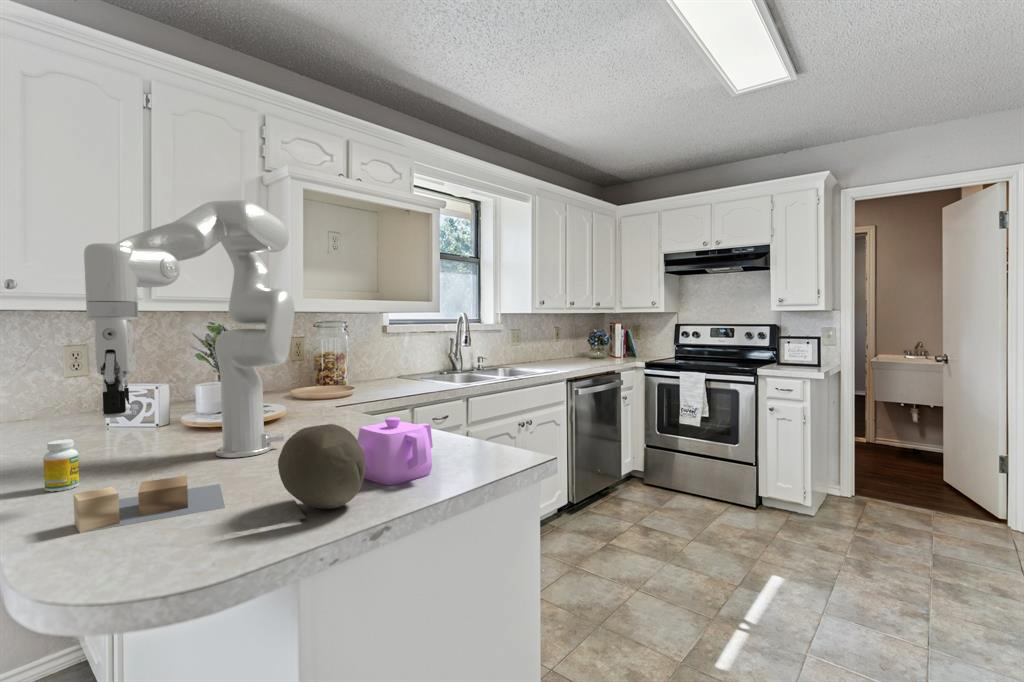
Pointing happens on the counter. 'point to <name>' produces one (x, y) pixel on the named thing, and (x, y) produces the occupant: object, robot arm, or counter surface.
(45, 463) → the supplement bottle
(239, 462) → the counter surface
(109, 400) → the robot arm
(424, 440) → the teakettle
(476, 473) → the counter surface
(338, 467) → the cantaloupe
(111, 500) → the oak block
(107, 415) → the rook chess piece
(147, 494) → the wooden block
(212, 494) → the slate mat
